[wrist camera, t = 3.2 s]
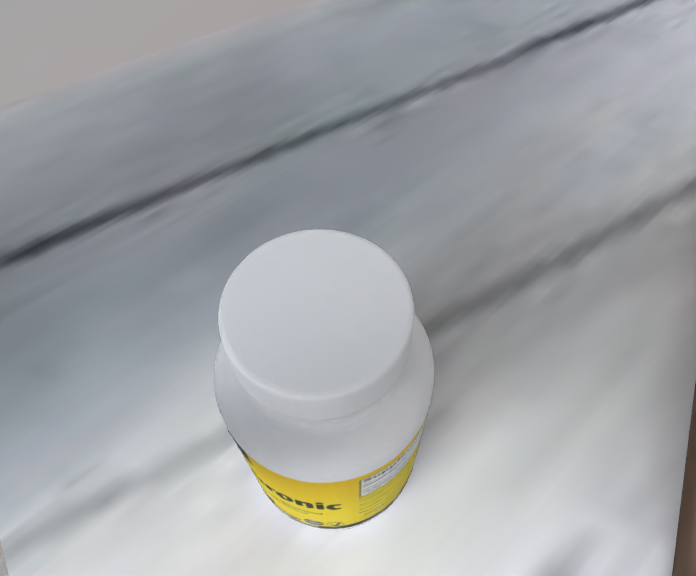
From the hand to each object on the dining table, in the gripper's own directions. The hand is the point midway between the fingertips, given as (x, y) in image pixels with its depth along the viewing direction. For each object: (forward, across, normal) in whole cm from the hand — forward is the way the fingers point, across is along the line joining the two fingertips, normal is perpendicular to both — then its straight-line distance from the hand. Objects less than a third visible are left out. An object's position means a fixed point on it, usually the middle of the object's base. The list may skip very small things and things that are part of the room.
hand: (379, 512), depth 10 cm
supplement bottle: (+9, -1, -4) cm, 10 cm away
